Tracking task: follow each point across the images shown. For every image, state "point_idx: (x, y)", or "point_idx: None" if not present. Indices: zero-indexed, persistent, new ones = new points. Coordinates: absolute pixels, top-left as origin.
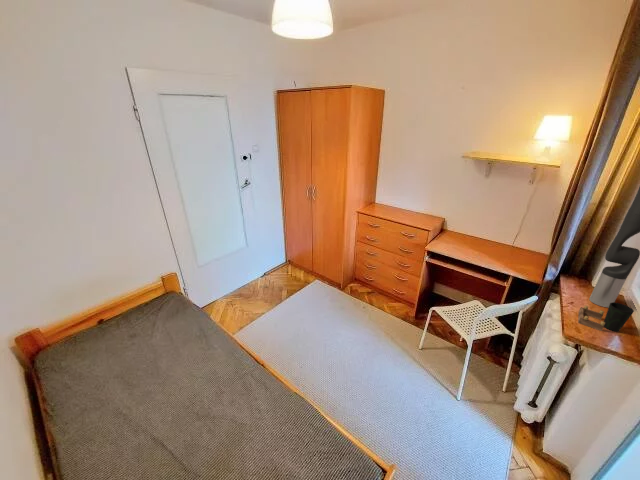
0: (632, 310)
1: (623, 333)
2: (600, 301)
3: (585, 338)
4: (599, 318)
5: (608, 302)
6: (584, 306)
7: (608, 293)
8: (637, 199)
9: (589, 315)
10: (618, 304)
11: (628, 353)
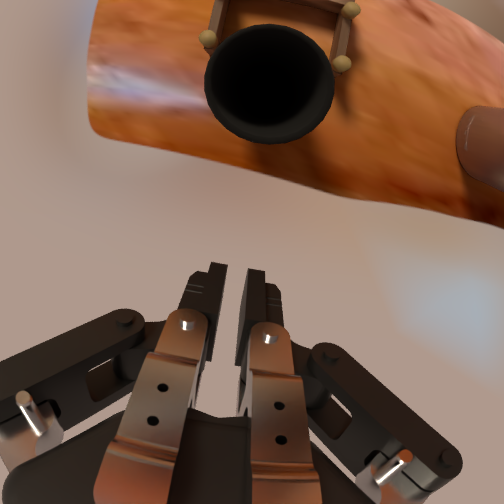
0: (260, 137)
1: None
2: (471, 124)
3: (110, 7)
4: None
5: (471, 151)
6: (352, 3)
7: (501, 144)
8: None
9: (334, 38)
10: (324, 84)
11: (95, 121)
